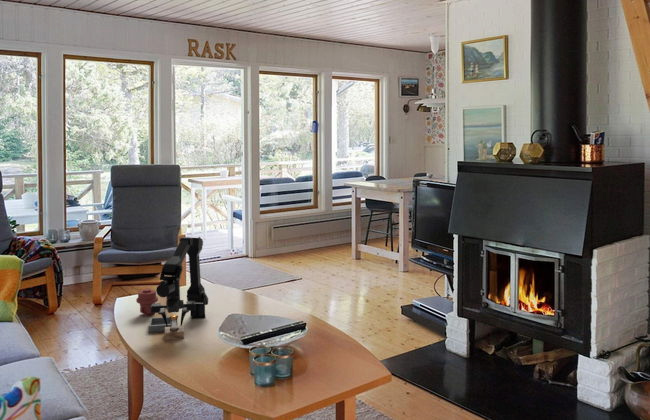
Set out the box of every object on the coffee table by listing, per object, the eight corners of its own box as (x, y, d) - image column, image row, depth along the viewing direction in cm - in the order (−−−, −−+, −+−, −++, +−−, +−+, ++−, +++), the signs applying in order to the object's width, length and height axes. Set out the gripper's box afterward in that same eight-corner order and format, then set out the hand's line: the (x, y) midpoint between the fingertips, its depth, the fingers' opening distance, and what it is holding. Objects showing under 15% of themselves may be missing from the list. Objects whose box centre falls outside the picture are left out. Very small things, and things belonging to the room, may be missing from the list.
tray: (177, 322, 277) (176, 316, 277) (176, 330, 266) (176, 324, 266) (150, 324, 275) (150, 318, 274) (149, 332, 263) (148, 326, 263)
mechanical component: (162, 312, 294) (152, 318, 284) (143, 310, 295) (133, 316, 286) (161, 287, 292) (151, 293, 282) (142, 286, 294) (132, 291, 284)
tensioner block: (183, 332, 264) (183, 325, 263) (183, 338, 256) (183, 331, 256) (165, 333, 262) (165, 327, 261) (164, 339, 254) (164, 333, 254)
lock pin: (178, 334, 261) (177, 314, 260) (178, 337, 258) (177, 316, 257) (170, 335, 260) (169, 315, 259) (170, 337, 257) (169, 317, 256)
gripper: (149, 297, 246) (151, 333, 248) (195, 294, 251) (196, 330, 253) (150, 290, 257) (152, 325, 259) (194, 288, 261) (195, 322, 263)
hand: (174, 326), depth 258 cm, fingers open, 6 cm apart
